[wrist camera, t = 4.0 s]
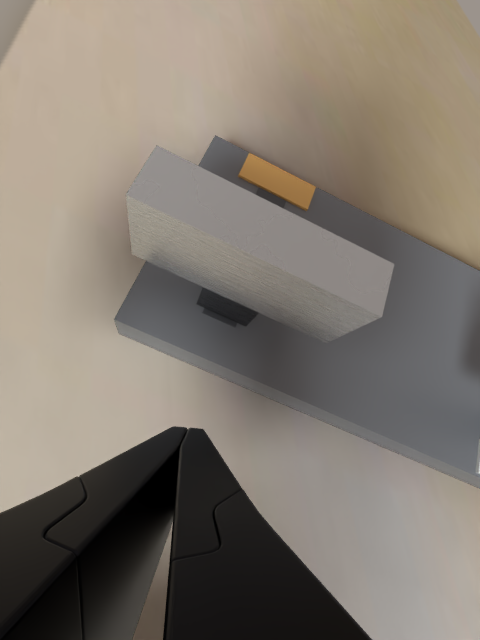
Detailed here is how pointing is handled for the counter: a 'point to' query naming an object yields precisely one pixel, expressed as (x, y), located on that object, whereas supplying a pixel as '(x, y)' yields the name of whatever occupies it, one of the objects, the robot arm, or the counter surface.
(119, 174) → the counter surface
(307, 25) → the counter surface
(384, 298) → the switch
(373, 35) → the counter surface
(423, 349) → the switch panel
